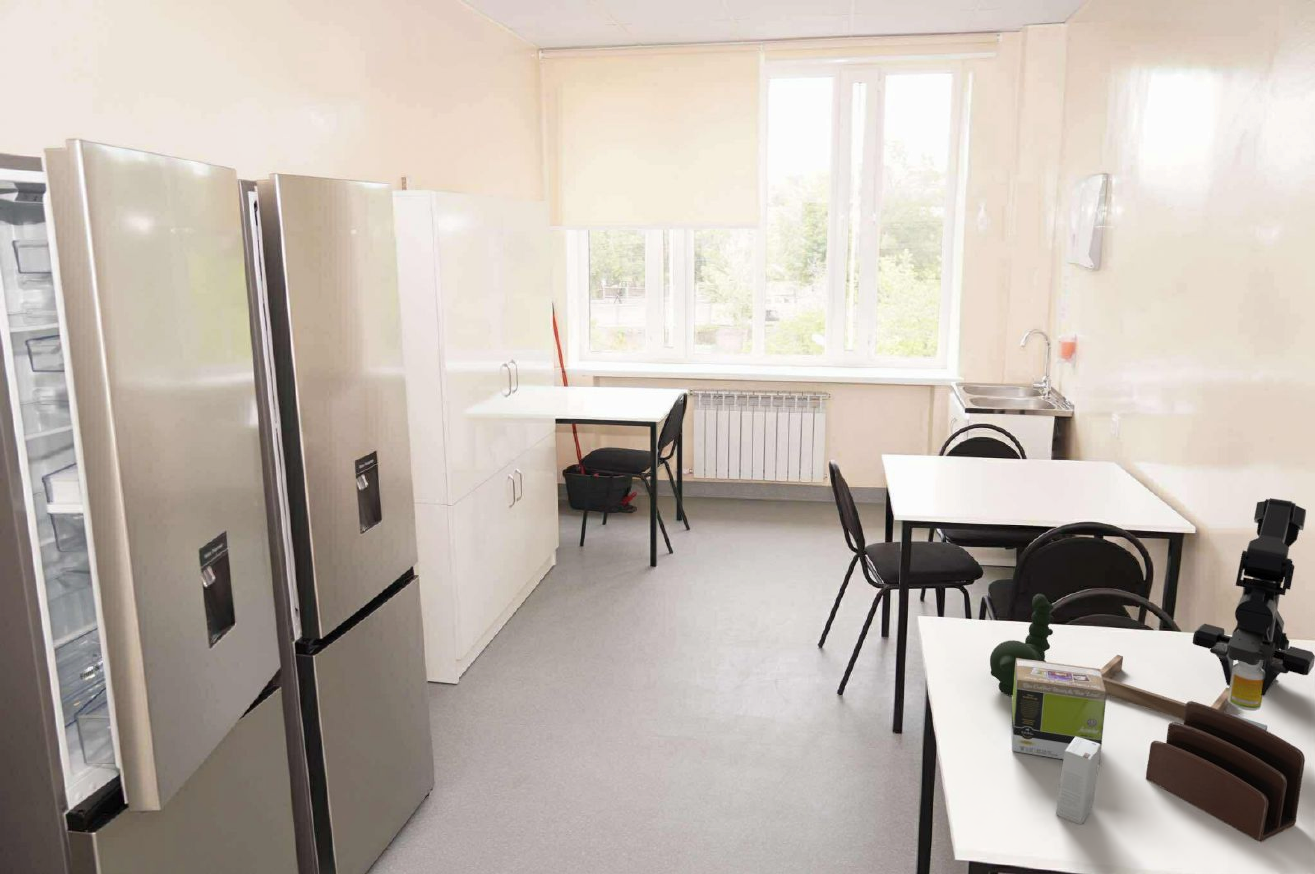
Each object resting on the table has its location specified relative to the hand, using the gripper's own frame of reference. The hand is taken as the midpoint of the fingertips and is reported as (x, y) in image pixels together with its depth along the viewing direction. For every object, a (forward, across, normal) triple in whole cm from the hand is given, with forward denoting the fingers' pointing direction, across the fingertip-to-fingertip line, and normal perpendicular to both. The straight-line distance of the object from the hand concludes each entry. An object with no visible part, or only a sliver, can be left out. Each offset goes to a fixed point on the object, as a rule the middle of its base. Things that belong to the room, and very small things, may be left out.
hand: (1245, 689), depth 176 cm
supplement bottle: (+3, 0, 0) cm, 3 cm away
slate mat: (+9, 0, 0) cm, 9 cm away
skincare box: (+9, -12, -48) cm, 51 cm away
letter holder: (+9, +3, -28) cm, 29 cm away
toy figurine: (+9, -38, -10) cm, 41 cm away
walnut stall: (+9, -16, +4) cm, 18 cm away
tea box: (+9, -24, -30) cm, 39 cm away
